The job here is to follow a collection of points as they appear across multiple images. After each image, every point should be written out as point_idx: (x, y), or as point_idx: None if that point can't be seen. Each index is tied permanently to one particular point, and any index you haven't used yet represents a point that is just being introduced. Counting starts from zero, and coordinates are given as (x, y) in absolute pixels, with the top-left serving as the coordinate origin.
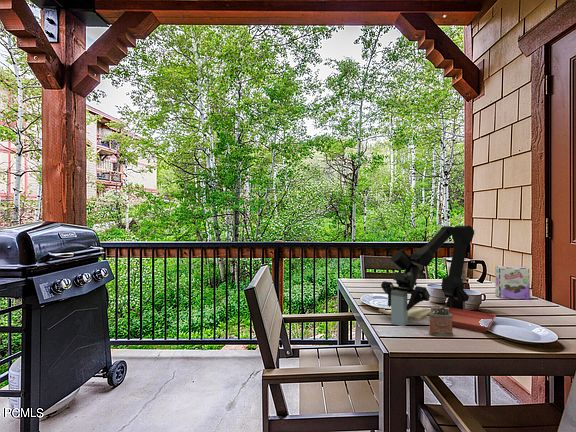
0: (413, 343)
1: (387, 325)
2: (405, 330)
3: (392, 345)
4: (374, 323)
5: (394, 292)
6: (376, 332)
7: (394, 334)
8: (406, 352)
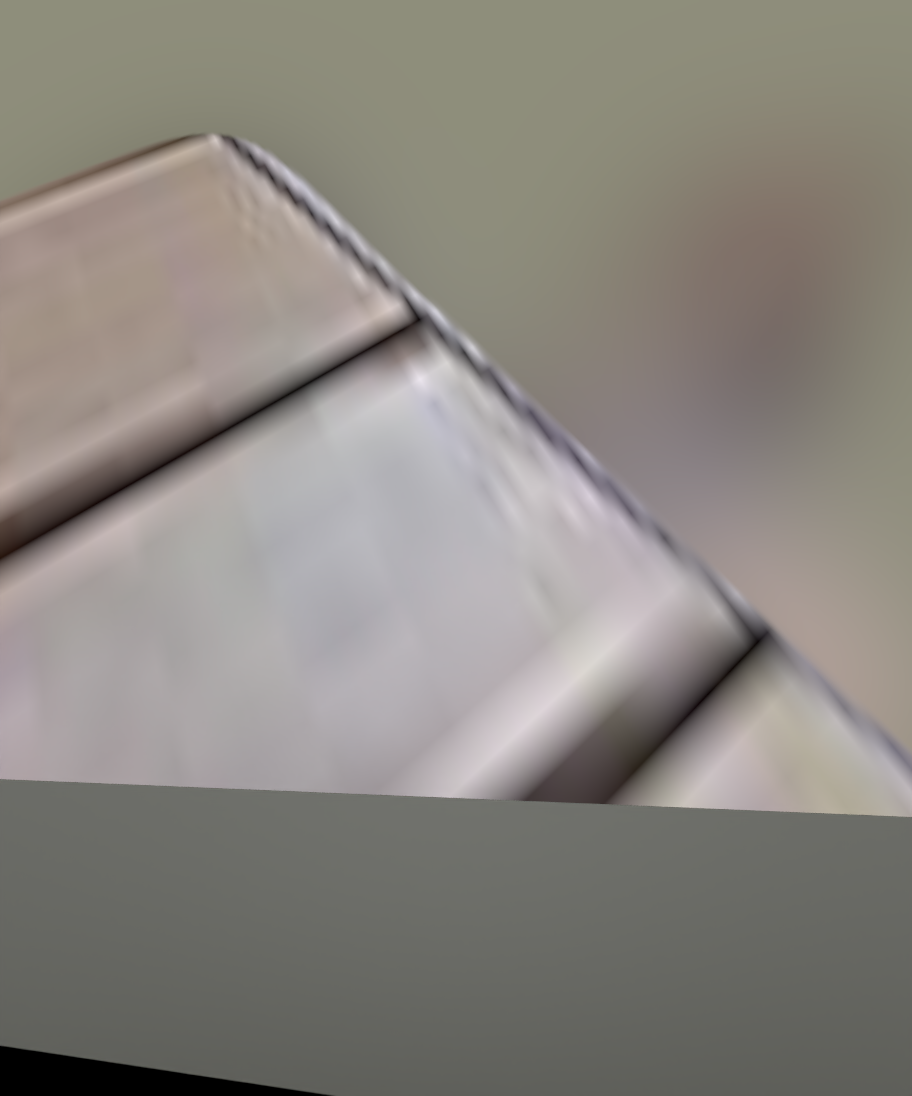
0: (31, 359)
1: (550, 756)
2: (215, 718)
3: (226, 228)
4: (752, 706)
5: (802, 828)
6: (515, 412)
7: (307, 474)
8: (73, 175)
